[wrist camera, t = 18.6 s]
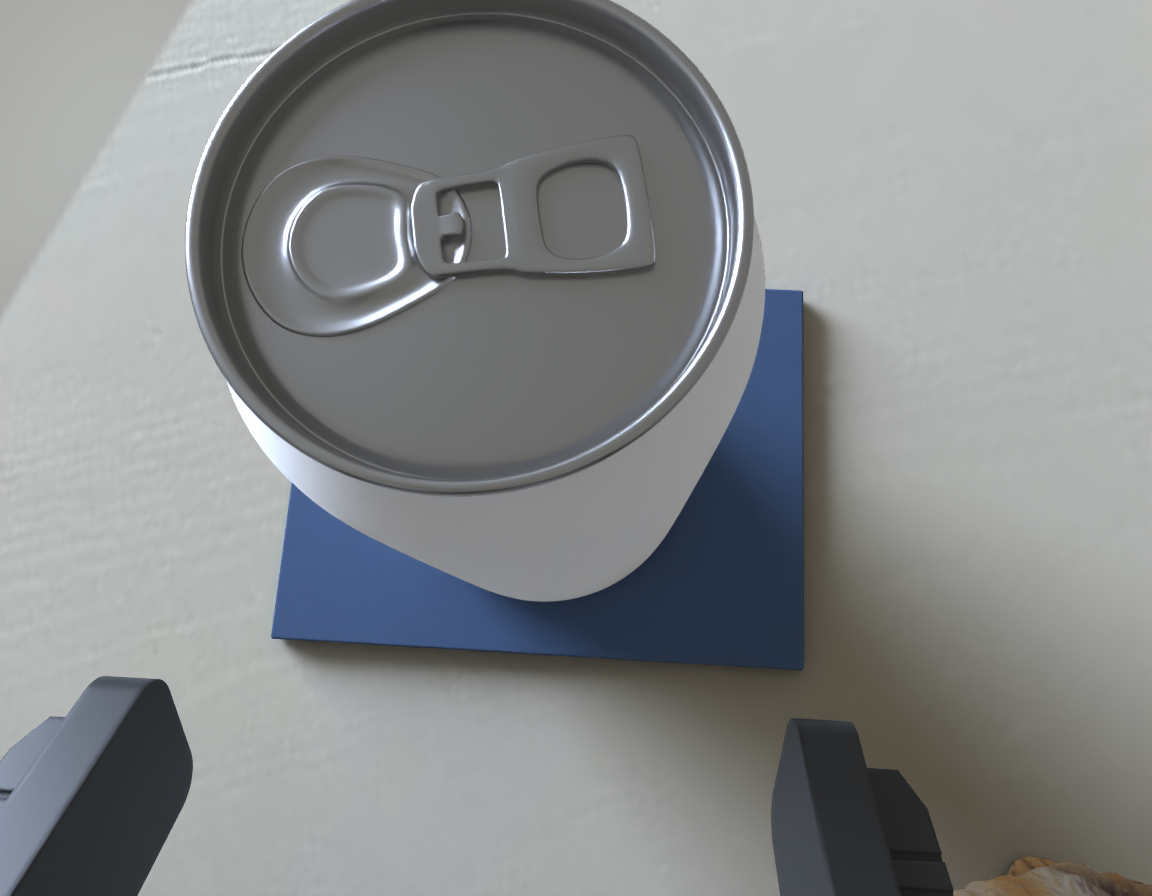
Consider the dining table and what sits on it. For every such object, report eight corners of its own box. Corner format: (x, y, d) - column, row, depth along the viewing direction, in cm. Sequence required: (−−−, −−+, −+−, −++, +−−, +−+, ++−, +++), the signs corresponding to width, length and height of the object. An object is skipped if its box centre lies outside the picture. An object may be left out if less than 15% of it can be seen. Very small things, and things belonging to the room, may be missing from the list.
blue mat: (276, 638, 20) (270, 638, 19) (324, 277, 22) (319, 270, 21) (799, 669, 19) (804, 670, 19) (799, 296, 21) (803, 290, 21)
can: (399, 352, 21) (135, -21, 9) (663, 317, 21) (738, -105, 9) (423, 621, 19) (143, 589, 8) (706, 584, 19) (862, 491, 8)
